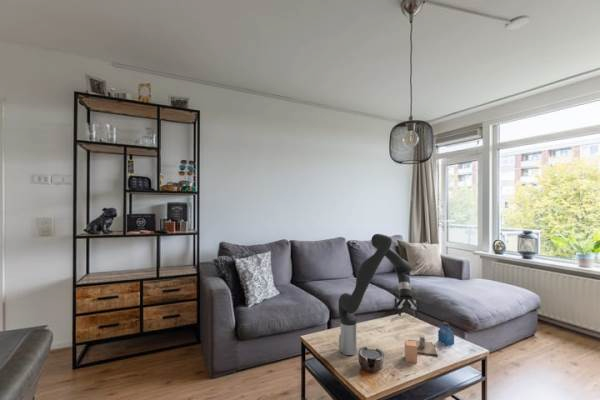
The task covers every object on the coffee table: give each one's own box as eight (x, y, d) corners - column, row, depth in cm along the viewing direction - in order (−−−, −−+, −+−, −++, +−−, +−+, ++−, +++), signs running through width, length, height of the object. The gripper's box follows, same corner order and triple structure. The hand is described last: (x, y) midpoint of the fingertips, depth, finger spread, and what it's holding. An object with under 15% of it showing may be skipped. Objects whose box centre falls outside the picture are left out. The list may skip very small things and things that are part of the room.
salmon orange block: (406, 361, 153) (405, 345, 153) (404, 356, 158) (404, 340, 158) (417, 362, 151) (416, 346, 151) (415, 357, 157) (415, 341, 157)
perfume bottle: (445, 339, 177) (445, 320, 177) (454, 343, 172) (454, 324, 172) (438, 340, 175) (438, 321, 175) (446, 345, 169) (446, 325, 169)
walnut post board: (411, 353, 161) (411, 340, 161) (408, 341, 175) (408, 330, 175) (437, 356, 158) (437, 343, 158) (432, 343, 171) (432, 332, 171)
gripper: (393, 287, 176) (395, 312, 165) (417, 288, 173) (421, 314, 162) (393, 292, 182) (394, 317, 170) (416, 294, 178) (419, 319, 167)
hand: (407, 316), depth 166 cm, fingers open, 8 cm apart
